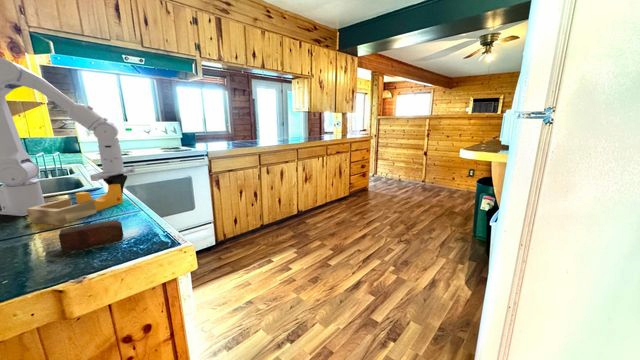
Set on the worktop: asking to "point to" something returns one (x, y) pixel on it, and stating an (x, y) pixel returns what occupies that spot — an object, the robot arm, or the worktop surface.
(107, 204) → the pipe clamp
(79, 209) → the wooden open tray
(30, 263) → the worktop surface
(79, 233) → the brick
